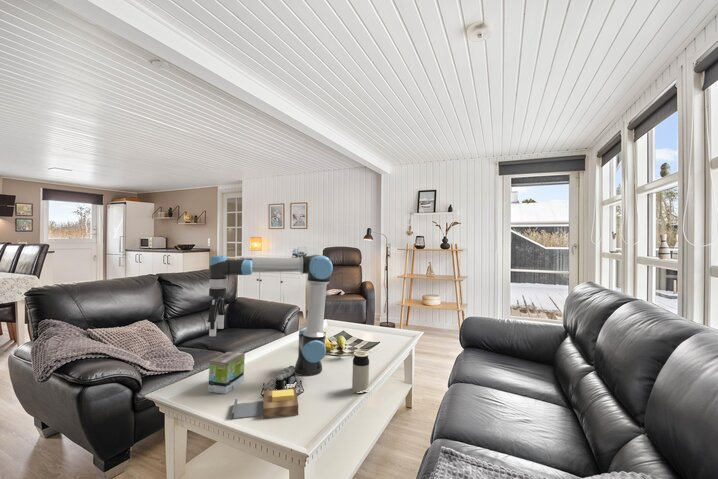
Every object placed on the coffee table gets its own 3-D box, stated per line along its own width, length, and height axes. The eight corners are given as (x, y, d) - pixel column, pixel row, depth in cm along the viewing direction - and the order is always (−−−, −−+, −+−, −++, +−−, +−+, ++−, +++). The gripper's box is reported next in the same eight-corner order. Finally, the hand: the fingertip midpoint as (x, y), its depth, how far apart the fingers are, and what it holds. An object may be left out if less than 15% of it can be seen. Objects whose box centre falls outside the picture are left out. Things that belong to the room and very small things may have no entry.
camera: (286, 397, 152) (287, 375, 152) (273, 394, 154) (274, 373, 154) (301, 384, 166) (301, 364, 166) (289, 382, 168) (289, 362, 168)
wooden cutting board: (295, 397, 152) (295, 388, 152) (298, 414, 136) (298, 405, 136) (263, 400, 148) (264, 391, 148) (262, 418, 133) (263, 408, 133)
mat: (263, 402, 146) (264, 396, 146) (263, 416, 135) (263, 409, 135) (235, 404, 143) (235, 399, 143) (231, 419, 132) (231, 412, 132)
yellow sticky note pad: (293, 393, 147) (293, 389, 147) (294, 399, 141) (294, 395, 141) (272, 395, 144) (272, 390, 144) (272, 401, 139) (272, 397, 139)
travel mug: (356, 395, 155) (357, 356, 155) (349, 388, 162) (350, 351, 162) (371, 392, 159) (372, 354, 159) (363, 385, 166) (364, 349, 166)
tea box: (226, 394, 153) (227, 362, 153) (207, 392, 155) (208, 360, 155) (244, 381, 168) (245, 352, 168) (226, 379, 170) (227, 350, 170)
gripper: (216, 284, 170) (215, 325, 170) (200, 291, 146) (199, 339, 145) (232, 284, 172) (231, 325, 171) (218, 291, 147) (217, 339, 147)
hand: (216, 332), depth 158 cm, fingers open, 13 cm apart
